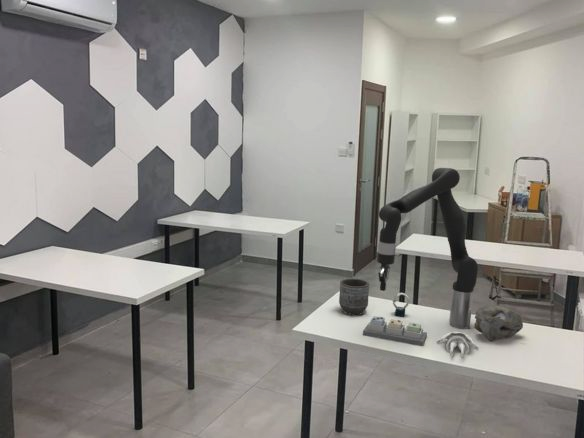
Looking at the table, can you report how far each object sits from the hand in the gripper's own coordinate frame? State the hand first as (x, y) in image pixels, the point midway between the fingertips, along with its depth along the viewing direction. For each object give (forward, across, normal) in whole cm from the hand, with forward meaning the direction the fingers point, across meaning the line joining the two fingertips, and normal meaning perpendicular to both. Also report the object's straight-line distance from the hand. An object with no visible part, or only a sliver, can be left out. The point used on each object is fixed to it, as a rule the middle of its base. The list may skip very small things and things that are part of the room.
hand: (382, 290), depth 227 cm
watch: (+19, +26, -4) cm, 32 cm away
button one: (+16, -1, -15) cm, 22 cm away
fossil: (+18, +19, -48) cm, 55 cm away
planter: (+20, +20, +18) cm, 33 cm away
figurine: (+19, -2, -34) cm, 39 cm away
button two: (+16, -1, -7) cm, 18 cm away
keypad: (+19, -1, -8) cm, 21 cm away
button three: (+17, -1, +1) cm, 17 cm away
